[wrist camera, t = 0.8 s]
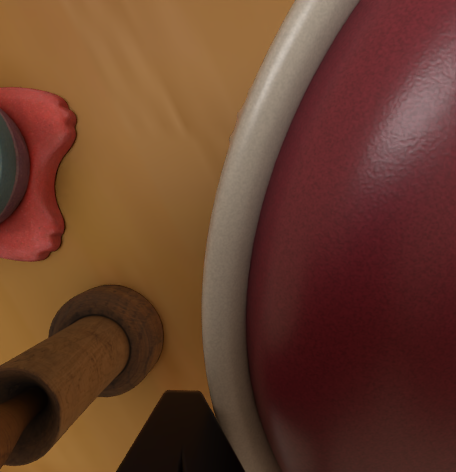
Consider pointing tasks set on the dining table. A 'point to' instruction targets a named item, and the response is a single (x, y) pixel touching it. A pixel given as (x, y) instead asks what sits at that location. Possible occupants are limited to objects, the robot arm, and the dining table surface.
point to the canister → (340, 246)
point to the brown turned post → (75, 368)
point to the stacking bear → (31, 171)
